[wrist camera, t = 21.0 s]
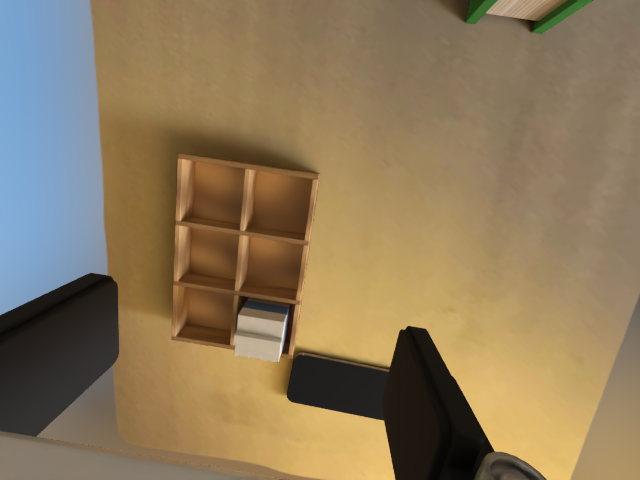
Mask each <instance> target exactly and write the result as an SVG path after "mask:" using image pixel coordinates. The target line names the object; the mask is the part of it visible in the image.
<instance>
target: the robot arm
mask: <svg viewBox="0 0 640 480" xmlns="http://www.w3.org/2000/svg"><path fill="white" fill-rule="evenodd" d="M118 355H119V329H118V286H117V283H116V282H115V281H114V280H113V278H112V277H111V276H107V275H101V274H94V273H90V274H87V275H85V276H83V277H81V278H78V279H77V280H74V281H72V282H70V283H68V284H66V285H63V286H61V287H59V288H57V289H55V290H53V291H51V292H49V293H47V294H44V295H42V296H40V297H38V298H36V299H34V300H32V301H30V302H27V303H26V304H23V305H21V306H19V307H17V308H15V309H13V310H11V311H8V312H6V313H4V314H2V315H0V480H289V479H283V478H277V477H271V476H266V475H260V474H254V473H248V472H243V471H237V470H231V469H226V468H220V467H214V466H207V465H202V464H196V463H191V462H184V461H179V460H173V459H167V458H161V457H155V456H149V455H143V454H137V453H131V452H125V451H119V450H113V449H107V448H101V447H95V446H89V445H84V444H77V443H71V442H64V441H59V440H53V439H46V438H40V437H36V436H37V435H38V434H39V433H40V432H41V431H43V430H44V429H45V428H46V427H47V426H48V425H49V424H50V423H51V422H52V421H53V420H54V419H55V418H56V417H57V416H59V414H61V413H62V412H63V411H64V410H65V409H66V408H67V407H68V406H69V405H70V404H71V403H72V402H73V401H74V400H76V399H77V398H78V397H79V396H80V395H81V394H82V393H83V392H84V391H85V390H86V389H87V388H88V387H89V386H91V385H92V384H93V383H94V382H95V381H96V380H97V379H98V378H99V377H100V376H101V375H102V374H103V373H105V372H106V371H107V370H108V369H109V368H110V367H111V366H112V365H113V364H114V363H115V361H116V360H117V358H118ZM382 411H383V416H384V422H385V427H386V432H387V437H388V443H389V448H390V453H391V458H392V464H393V469H394V474H395V479H396V480H547V479H546V478H545V477H544V476H543V475H542V474H541V473H540V472H538V471H537V470H536V469H535V468H533V467H532V466H531V465H529V464H528V463H526V462H525V461H523V460H521V459H519V458H517V457H516V456H513V455H510V454H507V453H504V452H495V451H494V450H493V448H492V446H491V444H490V442H489V440H488V439H487V437H486V435H485V433H484V431H483V429H482V428H481V426H480V424H479V422H478V420H477V418H476V417H475V415H474V413H473V411H472V409H471V407H470V406H469V404H468V402H467V400H466V398H465V396H464V395H463V393H462V391H461V389H460V387H459V385H458V384H457V382H456V380H455V379H454V377H453V376H451V374H450V372H449V370H448V369H447V367H446V365H445V363H444V361H443V359H442V357H441V356H440V354H439V352H438V350H437V348H436V346H435V344H434V342H433V341H432V339H431V337H430V335H429V333H428V331H427V330H426V329H423V328H417V327H411V326H408V327H407V328H406V329H405V330H402V329H401V330H400V332H399V336H398V340H397V343H396V347H395V351H394V355H393V359H392V362H391V366H390V370H389V374H388V378H387V381H386V385H385V389H384V393H383V397H382Z"/></svg>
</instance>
